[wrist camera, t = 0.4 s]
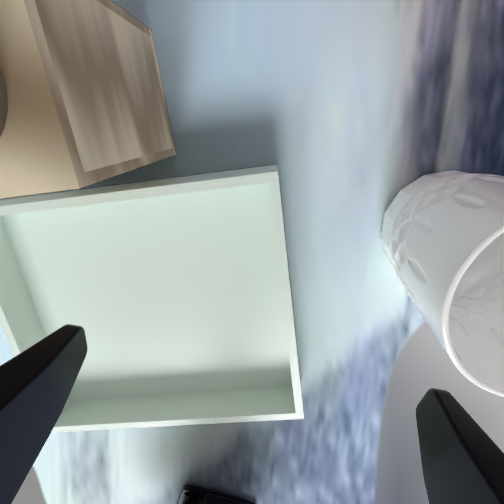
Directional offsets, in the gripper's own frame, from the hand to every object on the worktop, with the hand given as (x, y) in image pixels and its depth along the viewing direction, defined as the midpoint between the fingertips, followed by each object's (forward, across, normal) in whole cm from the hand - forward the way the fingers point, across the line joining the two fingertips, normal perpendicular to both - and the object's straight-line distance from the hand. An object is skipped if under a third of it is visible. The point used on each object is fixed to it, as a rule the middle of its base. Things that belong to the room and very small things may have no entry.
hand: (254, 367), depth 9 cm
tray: (+12, +6, +10) cm, 16 cm away
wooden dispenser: (+14, +10, -2) cm, 18 cm away
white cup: (+14, -10, +2) cm, 17 cm away
